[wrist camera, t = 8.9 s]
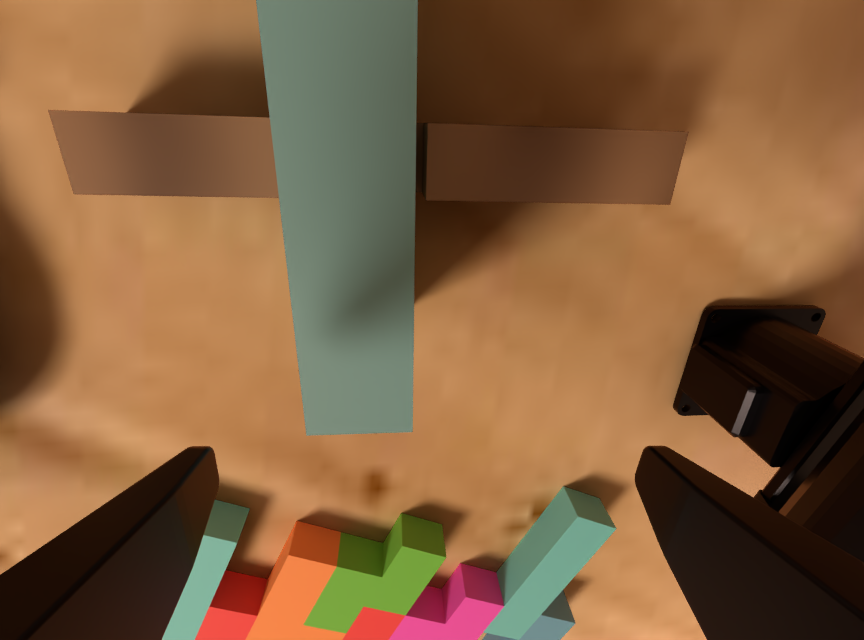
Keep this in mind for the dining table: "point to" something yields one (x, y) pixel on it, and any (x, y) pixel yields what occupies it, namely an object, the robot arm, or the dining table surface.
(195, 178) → the walnut rail
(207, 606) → the tetris game
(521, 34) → the dining table surface
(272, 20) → the teal plate
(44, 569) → the robot arm
